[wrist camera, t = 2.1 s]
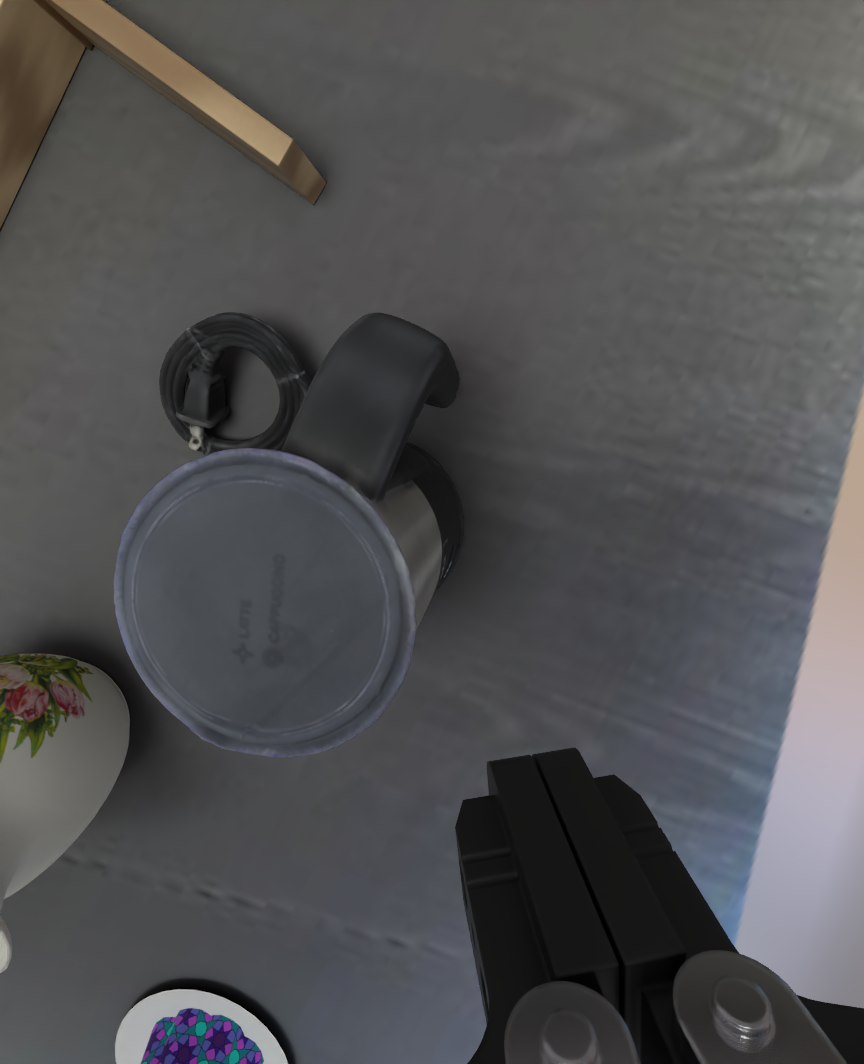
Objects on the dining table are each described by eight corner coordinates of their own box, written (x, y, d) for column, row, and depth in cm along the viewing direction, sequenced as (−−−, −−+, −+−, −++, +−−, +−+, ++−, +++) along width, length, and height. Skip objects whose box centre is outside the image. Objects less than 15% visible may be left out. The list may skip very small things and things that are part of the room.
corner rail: (86, 591, 34) (12, 619, 29) (-125, 435, 35) (-234, 437, 30) (330, 177, 29) (291, 123, 24) (78, -7, 29) (-15, -99, 24)
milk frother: (452, 624, 32) (400, 788, 17) (173, 581, 34) (-86, 697, 19) (487, 347, 29) (460, 266, 15) (182, 315, 31) (-109, 216, 16)
